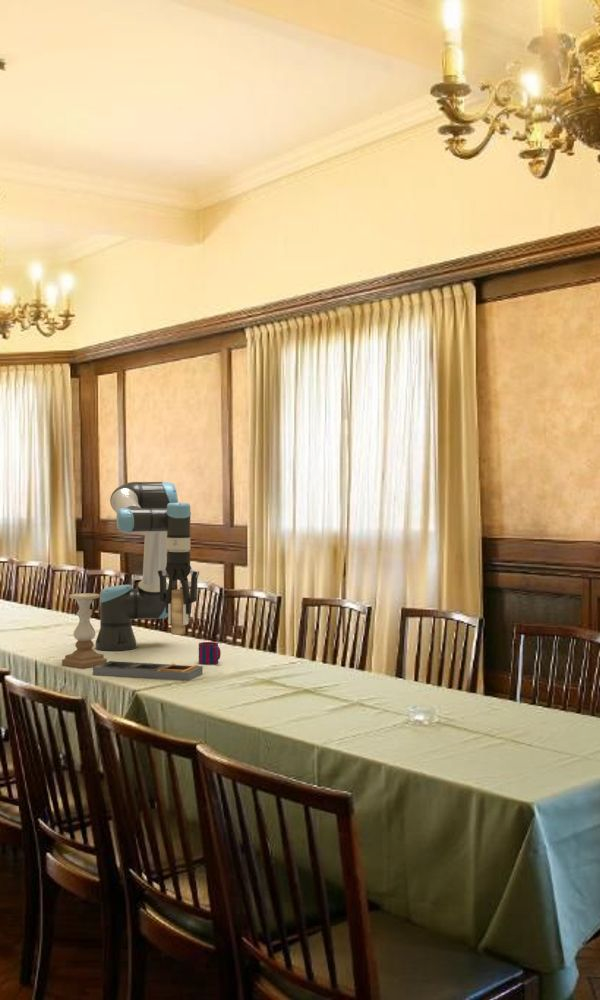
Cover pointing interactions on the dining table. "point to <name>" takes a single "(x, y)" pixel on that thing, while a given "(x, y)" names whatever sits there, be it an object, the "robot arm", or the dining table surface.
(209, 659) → the mug
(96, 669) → the grey peg board
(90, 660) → the candle holder
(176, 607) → the peg
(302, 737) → the dining table surface
